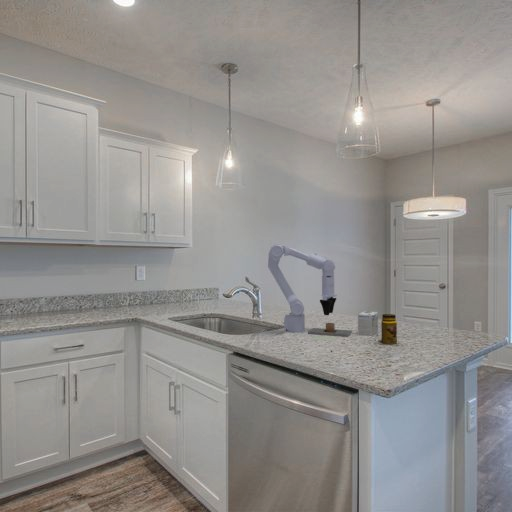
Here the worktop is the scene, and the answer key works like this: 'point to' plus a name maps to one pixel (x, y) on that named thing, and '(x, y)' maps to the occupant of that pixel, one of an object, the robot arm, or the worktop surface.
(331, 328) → the peg
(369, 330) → the light bulb box
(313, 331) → the hole plate
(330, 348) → the worktop surface
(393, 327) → the condiment
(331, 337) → the pad
